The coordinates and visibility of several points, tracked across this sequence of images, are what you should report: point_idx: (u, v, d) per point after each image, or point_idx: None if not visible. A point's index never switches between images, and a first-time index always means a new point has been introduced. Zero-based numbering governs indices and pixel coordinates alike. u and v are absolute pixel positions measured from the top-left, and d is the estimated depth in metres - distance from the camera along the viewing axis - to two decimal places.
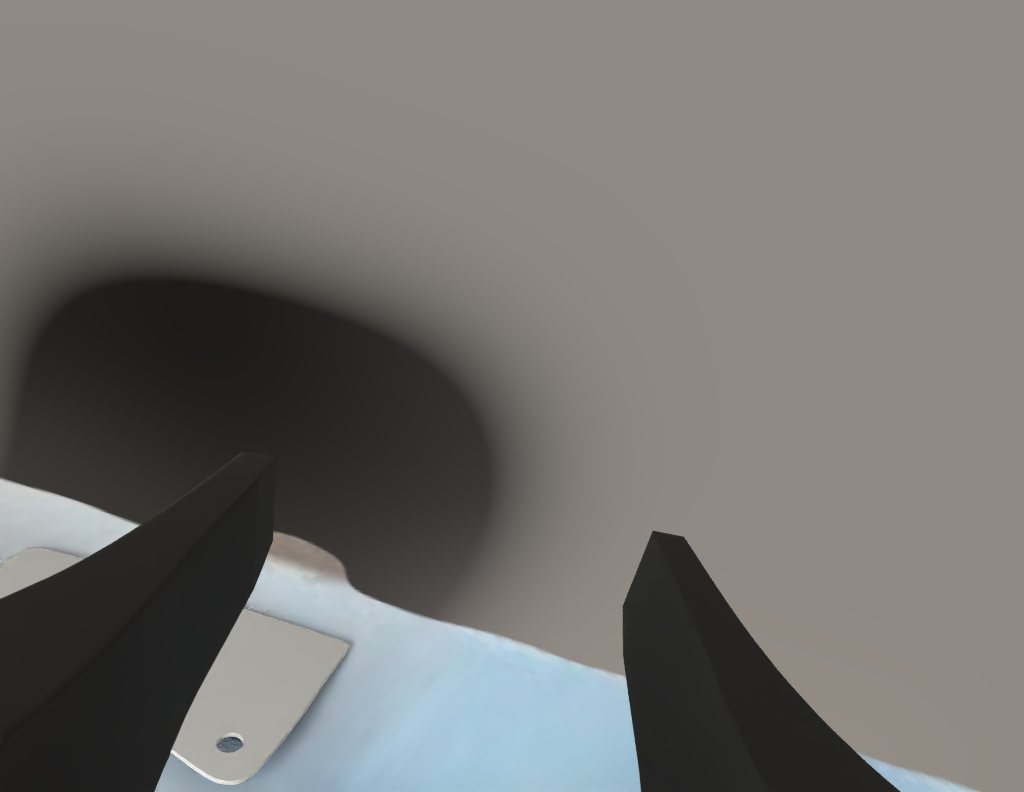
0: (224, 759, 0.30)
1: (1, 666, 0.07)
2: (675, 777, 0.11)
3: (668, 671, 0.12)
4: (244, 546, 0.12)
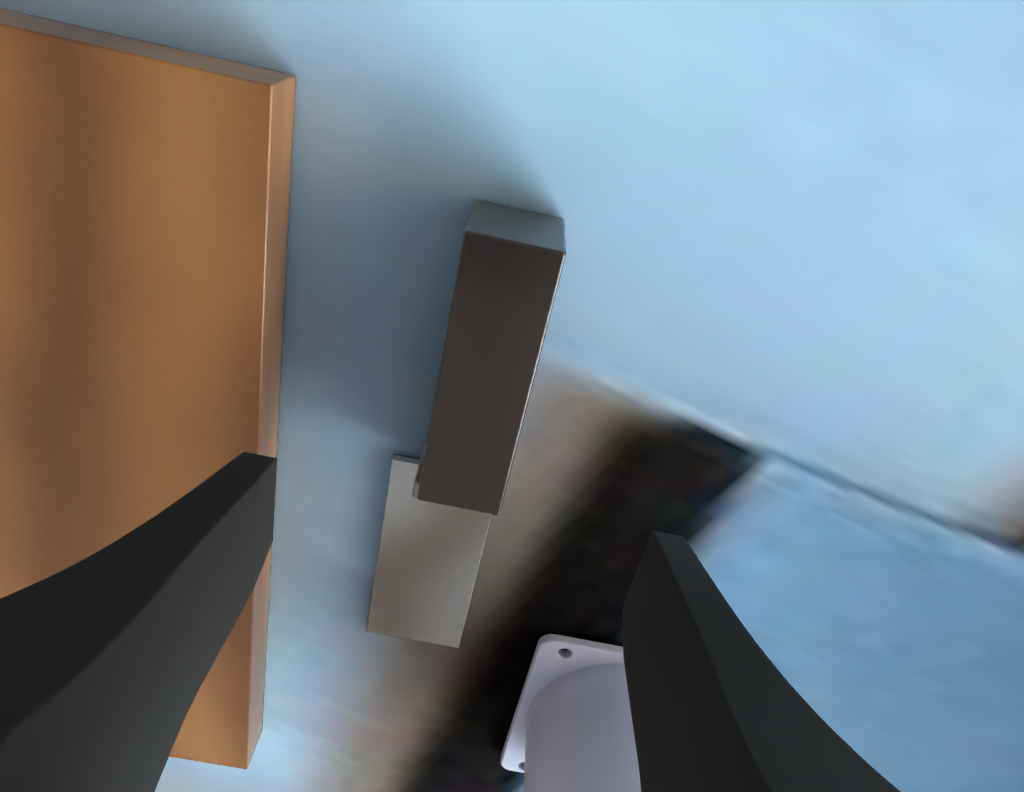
0: None
1: (1, 666, 0.07)
2: (675, 777, 0.11)
3: (668, 671, 0.12)
4: (244, 546, 0.12)
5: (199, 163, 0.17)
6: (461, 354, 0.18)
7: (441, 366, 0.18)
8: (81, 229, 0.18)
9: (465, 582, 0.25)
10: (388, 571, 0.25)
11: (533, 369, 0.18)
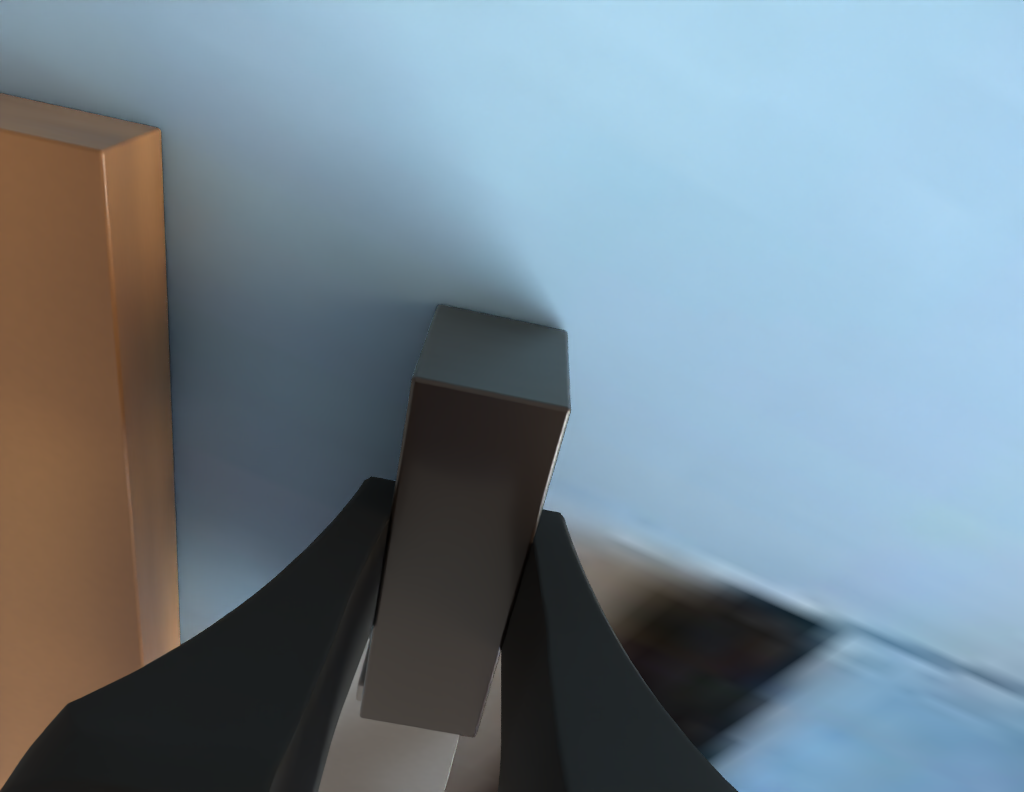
0: None
1: (231, 705, 0.07)
2: (517, 750, 0.10)
3: (524, 645, 0.11)
4: (379, 571, 0.12)
5: (4, 267, 0.11)
6: (413, 543, 0.12)
7: (385, 558, 0.12)
8: None
9: (438, 770, 0.19)
10: (336, 757, 0.19)
11: (522, 564, 0.12)
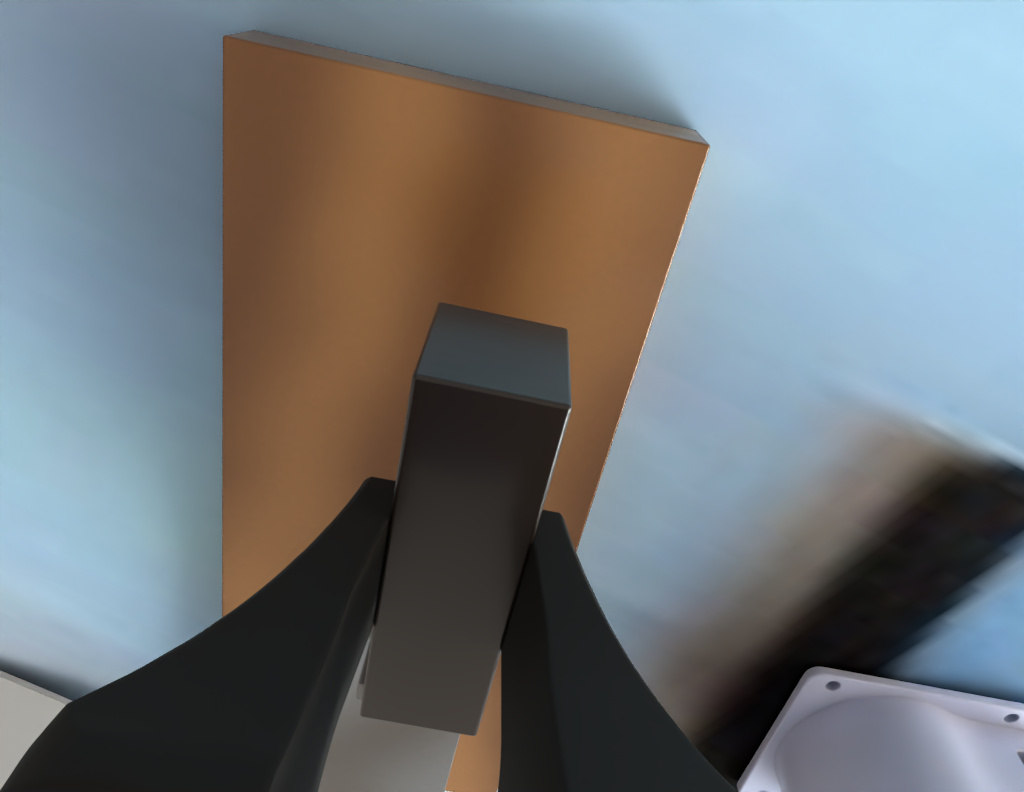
0: None
1: (231, 706, 0.07)
2: (517, 750, 0.10)
3: (524, 645, 0.11)
4: (379, 571, 0.12)
5: (615, 219, 0.17)
6: (414, 541, 0.12)
7: (386, 556, 0.12)
8: (477, 282, 0.18)
9: (438, 770, 0.19)
10: (337, 756, 0.19)
11: (522, 563, 0.12)
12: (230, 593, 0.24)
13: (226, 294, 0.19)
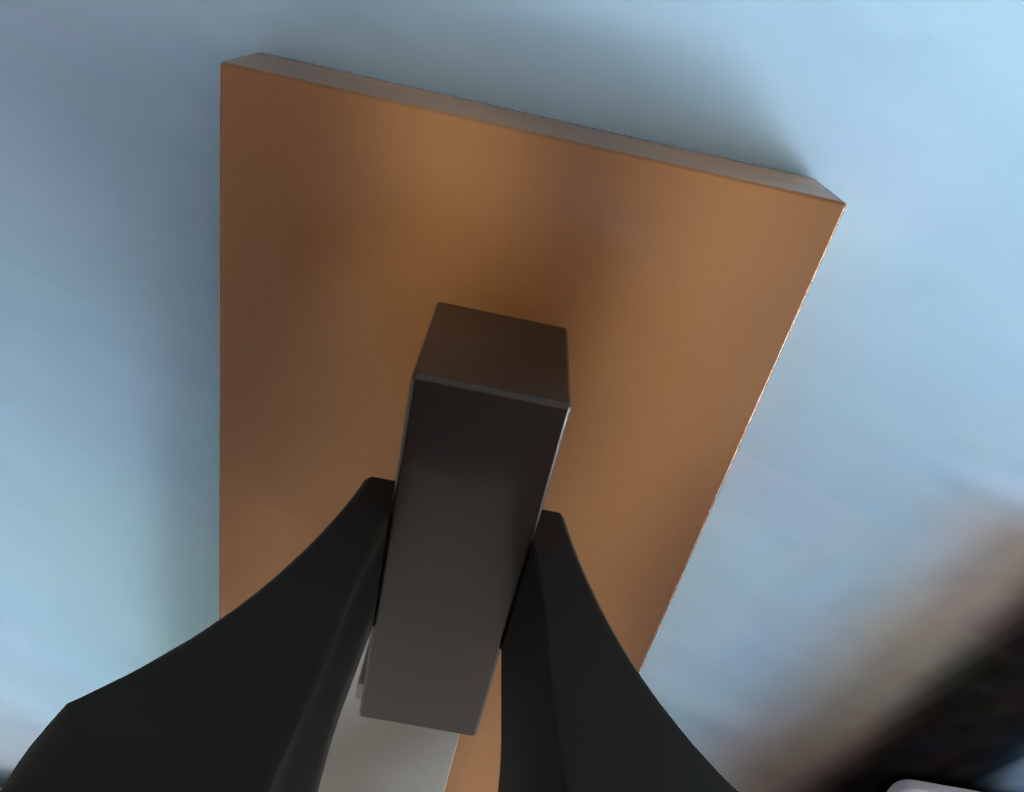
0: None
1: (231, 706, 0.07)
2: (517, 750, 0.10)
3: (524, 645, 0.11)
4: (379, 571, 0.12)
5: (717, 293, 0.14)
6: (413, 541, 0.12)
7: (385, 556, 0.12)
8: None
9: (438, 770, 0.19)
10: (336, 755, 0.19)
11: (522, 562, 0.12)
12: None
13: (224, 378, 0.15)
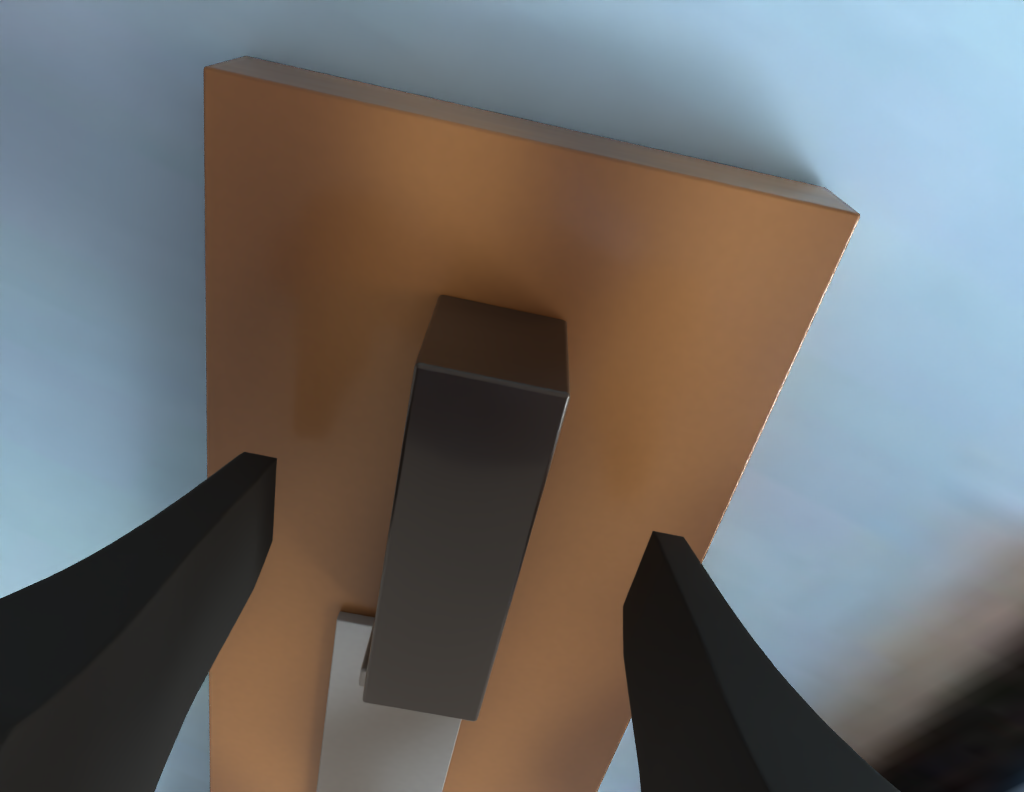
0: None
1: (1, 666, 0.07)
2: (675, 777, 0.11)
3: (668, 671, 0.12)
4: (244, 546, 0.12)
5: (725, 308, 0.13)
6: (416, 529, 0.12)
7: (388, 543, 0.13)
8: None
9: (439, 758, 0.20)
10: (338, 744, 0.20)
11: (522, 548, 0.12)
12: (219, 729, 0.20)
13: (210, 394, 0.15)
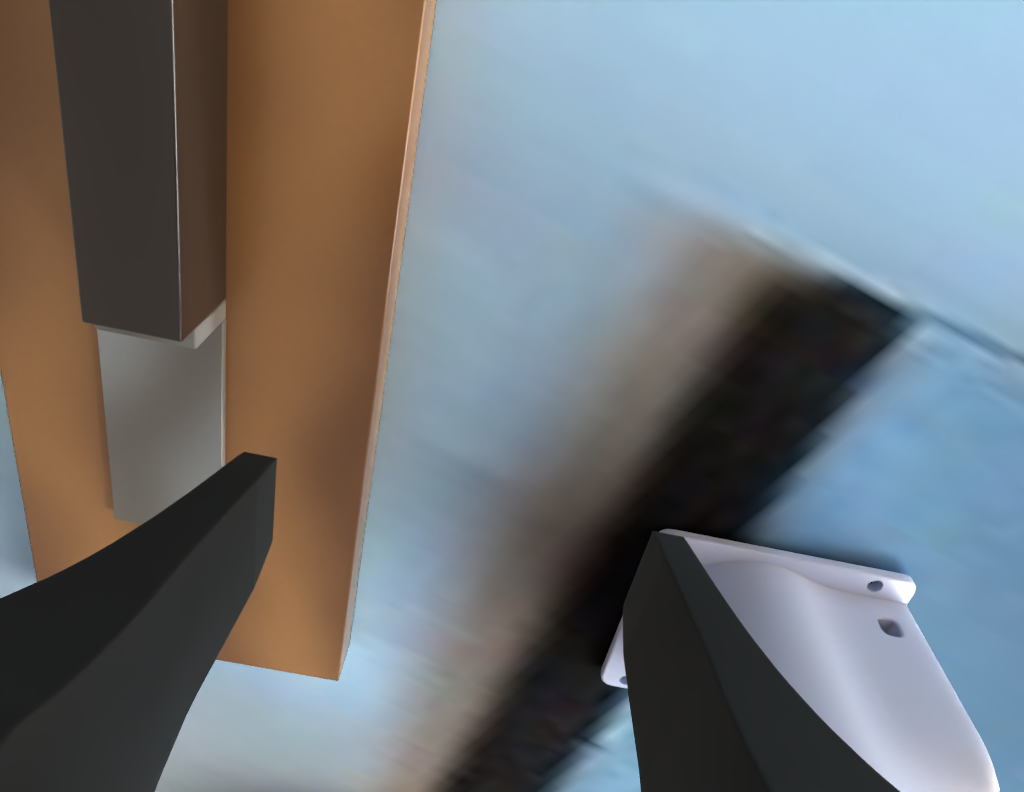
0: None
1: (1, 666, 0.07)
2: (675, 777, 0.11)
3: (668, 671, 0.12)
4: (244, 546, 0.12)
5: None
6: (81, 117, 0.15)
7: (63, 135, 0.15)
8: None
9: (211, 455, 0.22)
10: (122, 441, 0.22)
11: (172, 137, 0.15)
12: (19, 433, 0.23)
13: None
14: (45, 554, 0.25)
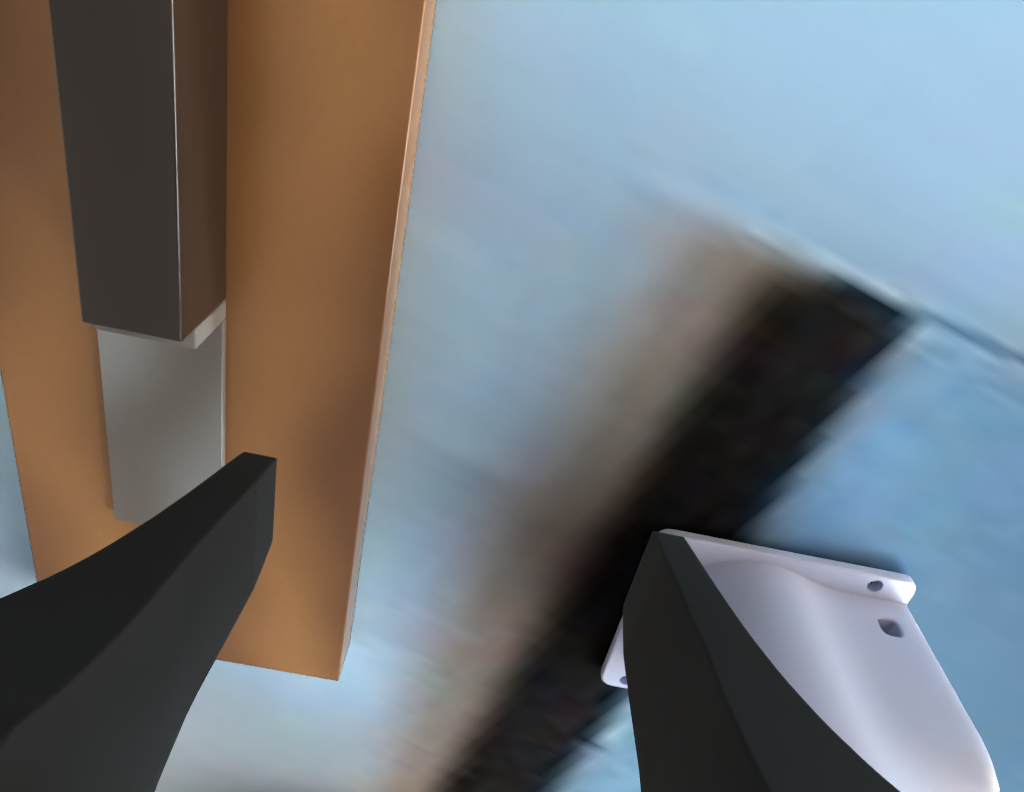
0: None
1: (1, 666, 0.07)
2: (675, 777, 0.11)
3: (668, 671, 0.12)
4: (244, 546, 0.12)
5: None
6: (81, 117, 0.15)
7: (63, 135, 0.15)
8: None
9: (211, 455, 0.22)
10: (122, 441, 0.22)
11: (172, 137, 0.15)
12: (19, 433, 0.23)
13: None
14: (45, 554, 0.25)
